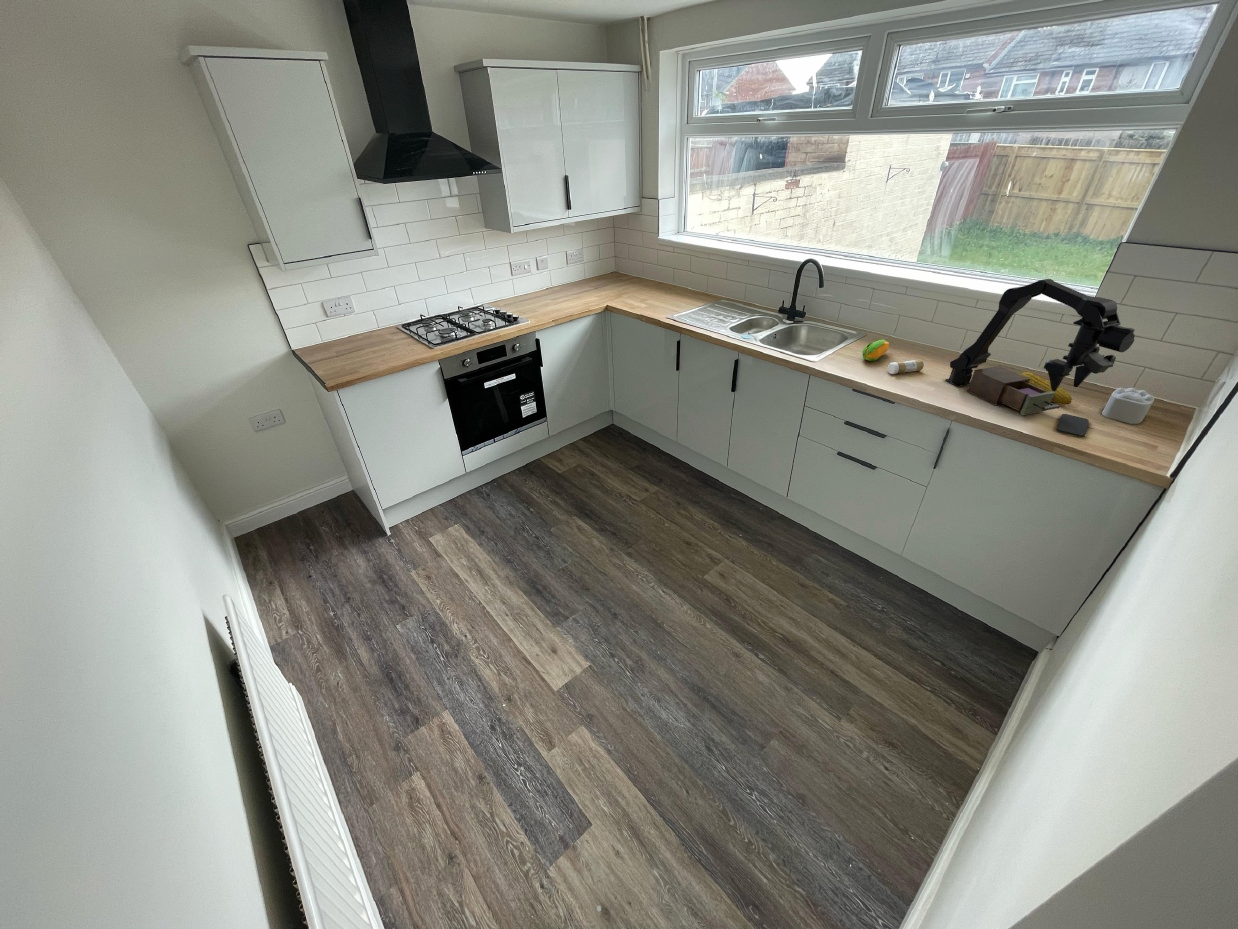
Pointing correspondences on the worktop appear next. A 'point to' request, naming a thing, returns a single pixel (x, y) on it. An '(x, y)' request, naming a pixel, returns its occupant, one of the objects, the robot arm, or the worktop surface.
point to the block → (1028, 393)
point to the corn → (875, 350)
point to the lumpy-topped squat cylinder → (1128, 405)
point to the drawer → (1033, 402)
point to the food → (1049, 389)
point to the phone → (1073, 425)
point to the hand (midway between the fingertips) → (1064, 388)
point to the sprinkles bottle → (905, 366)
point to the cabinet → (993, 382)
